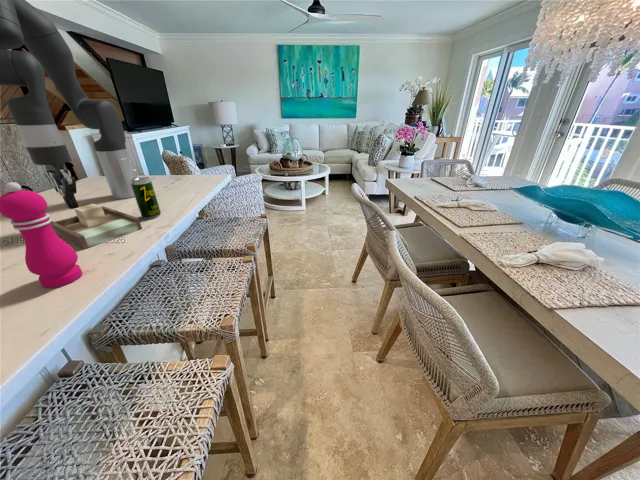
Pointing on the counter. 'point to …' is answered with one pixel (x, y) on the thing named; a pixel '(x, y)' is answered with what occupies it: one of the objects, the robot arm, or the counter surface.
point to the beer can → (145, 197)
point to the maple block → (90, 215)
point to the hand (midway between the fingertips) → (73, 207)
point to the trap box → (96, 228)
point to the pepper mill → (40, 237)
